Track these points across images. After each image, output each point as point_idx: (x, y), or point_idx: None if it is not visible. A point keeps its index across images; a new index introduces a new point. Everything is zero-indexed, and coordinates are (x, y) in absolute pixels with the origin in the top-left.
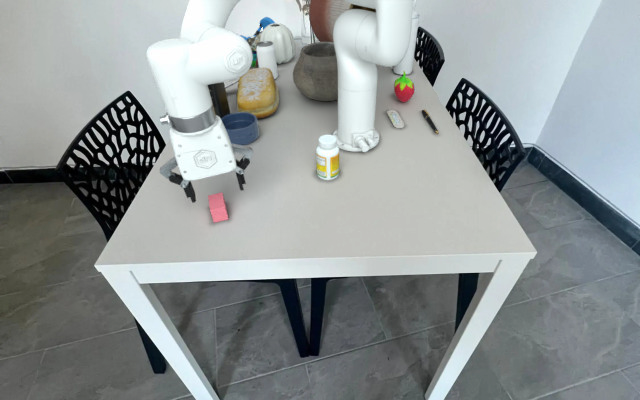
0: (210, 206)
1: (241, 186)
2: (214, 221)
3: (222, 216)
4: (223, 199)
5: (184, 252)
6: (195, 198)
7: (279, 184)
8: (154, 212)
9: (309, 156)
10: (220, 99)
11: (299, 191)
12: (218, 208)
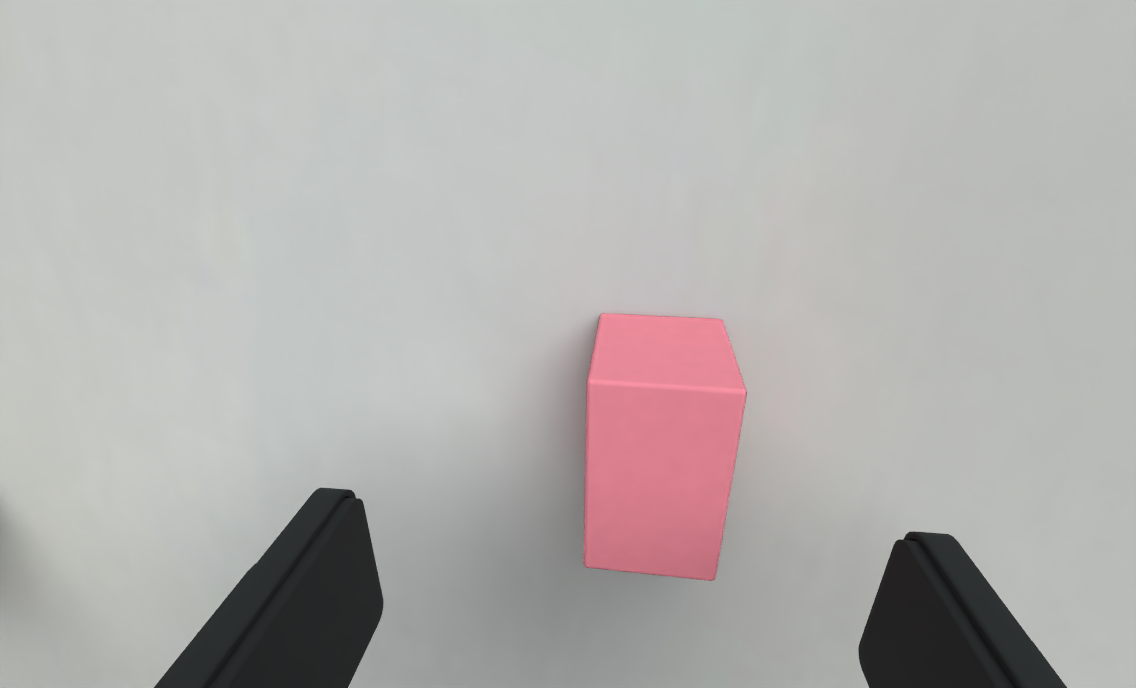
0: (729, 443)
1: (297, 532)
2: (717, 323)
3: (640, 332)
4: (586, 483)
5: (1119, 13)
6: (891, 580)
7: (222, 503)
8: (1123, 596)
9: (69, 635)
10: None
11: (79, 392)
12: (656, 385)
